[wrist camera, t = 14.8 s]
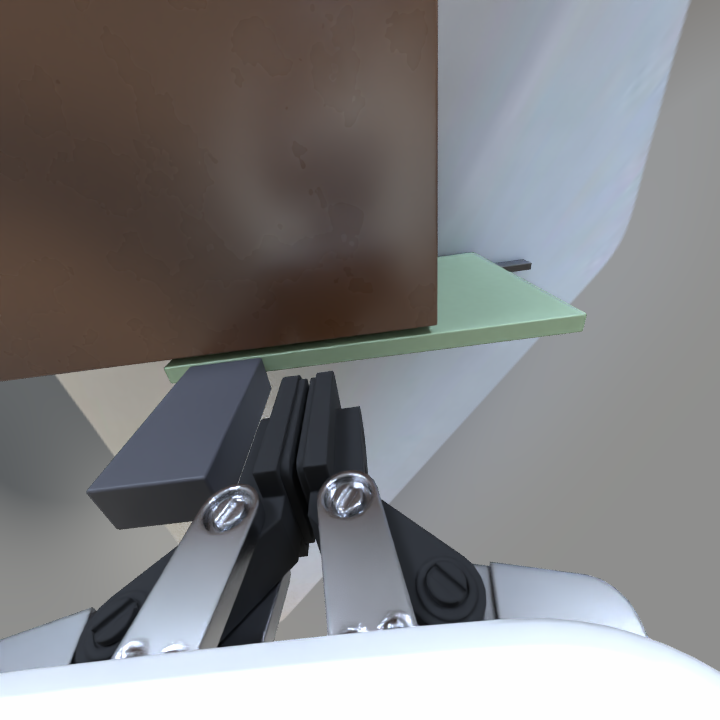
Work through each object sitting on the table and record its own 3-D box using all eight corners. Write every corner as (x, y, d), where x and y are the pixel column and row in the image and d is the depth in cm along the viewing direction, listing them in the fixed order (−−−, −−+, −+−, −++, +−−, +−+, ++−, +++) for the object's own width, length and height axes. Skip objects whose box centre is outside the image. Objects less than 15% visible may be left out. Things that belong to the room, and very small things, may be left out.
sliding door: (246, 282, 24) (37, 496, 8) (474, 251, 23) (764, 409, 7) (252, 302, 25) (76, 535, 8) (472, 273, 24) (730, 459, 8)
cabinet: (70, 86, 18) (-380, -70, 7) (556, 13, 18) (941, -291, 6) (171, 312, 25) (28, 419, 14) (523, 265, 24) (676, 337, 13)
